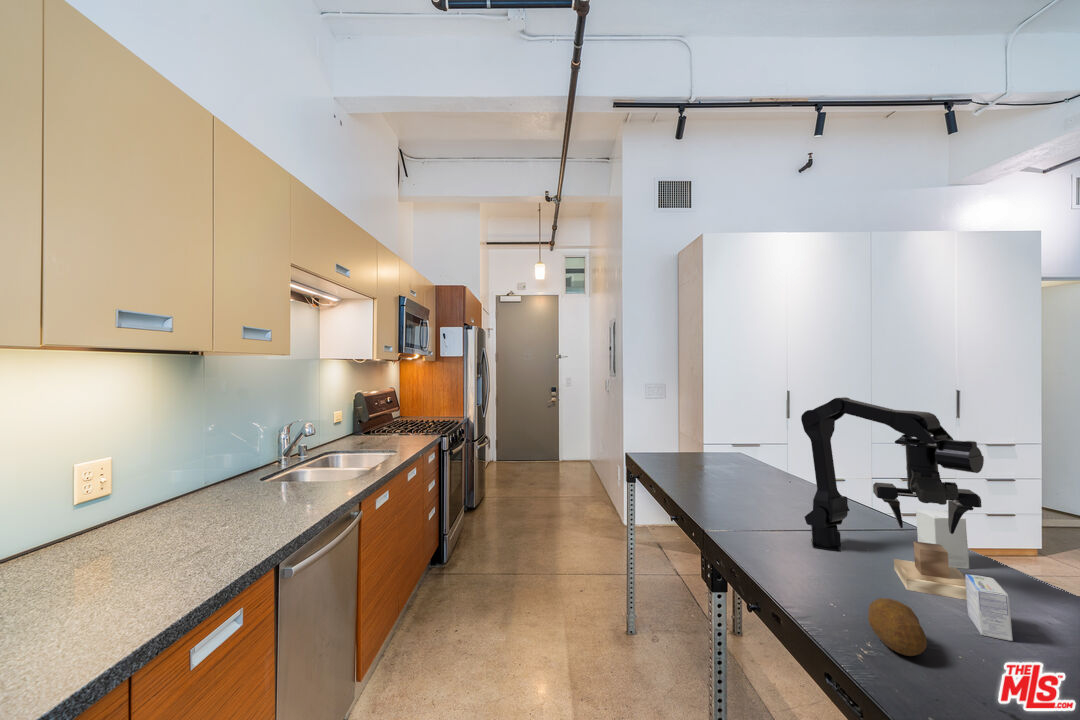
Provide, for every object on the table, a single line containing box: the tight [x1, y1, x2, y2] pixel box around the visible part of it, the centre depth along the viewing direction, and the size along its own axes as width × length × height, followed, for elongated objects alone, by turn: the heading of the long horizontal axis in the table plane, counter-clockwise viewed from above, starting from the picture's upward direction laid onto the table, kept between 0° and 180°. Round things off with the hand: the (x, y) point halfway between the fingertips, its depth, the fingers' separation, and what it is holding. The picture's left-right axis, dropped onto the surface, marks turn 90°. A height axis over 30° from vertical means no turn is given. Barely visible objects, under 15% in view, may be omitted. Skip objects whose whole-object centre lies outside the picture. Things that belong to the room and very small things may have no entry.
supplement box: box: [915, 509, 970, 570], centre depth 113 cm, size 7×7×13 cm
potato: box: [867, 597, 928, 657], centre depth 80 cm, size 8×12×8 cm, turn 169°
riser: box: [893, 558, 967, 601], centre depth 102 cm, size 12×12×3 cm
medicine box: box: [964, 574, 1014, 642], centre depth 84 cm, size 8×4×9 cm, turn 148°
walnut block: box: [913, 541, 950, 579], centre depth 102 cm, size 5×5×6 cm
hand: (925, 530), depth 103 cm, fingers open, 9 cm apart
